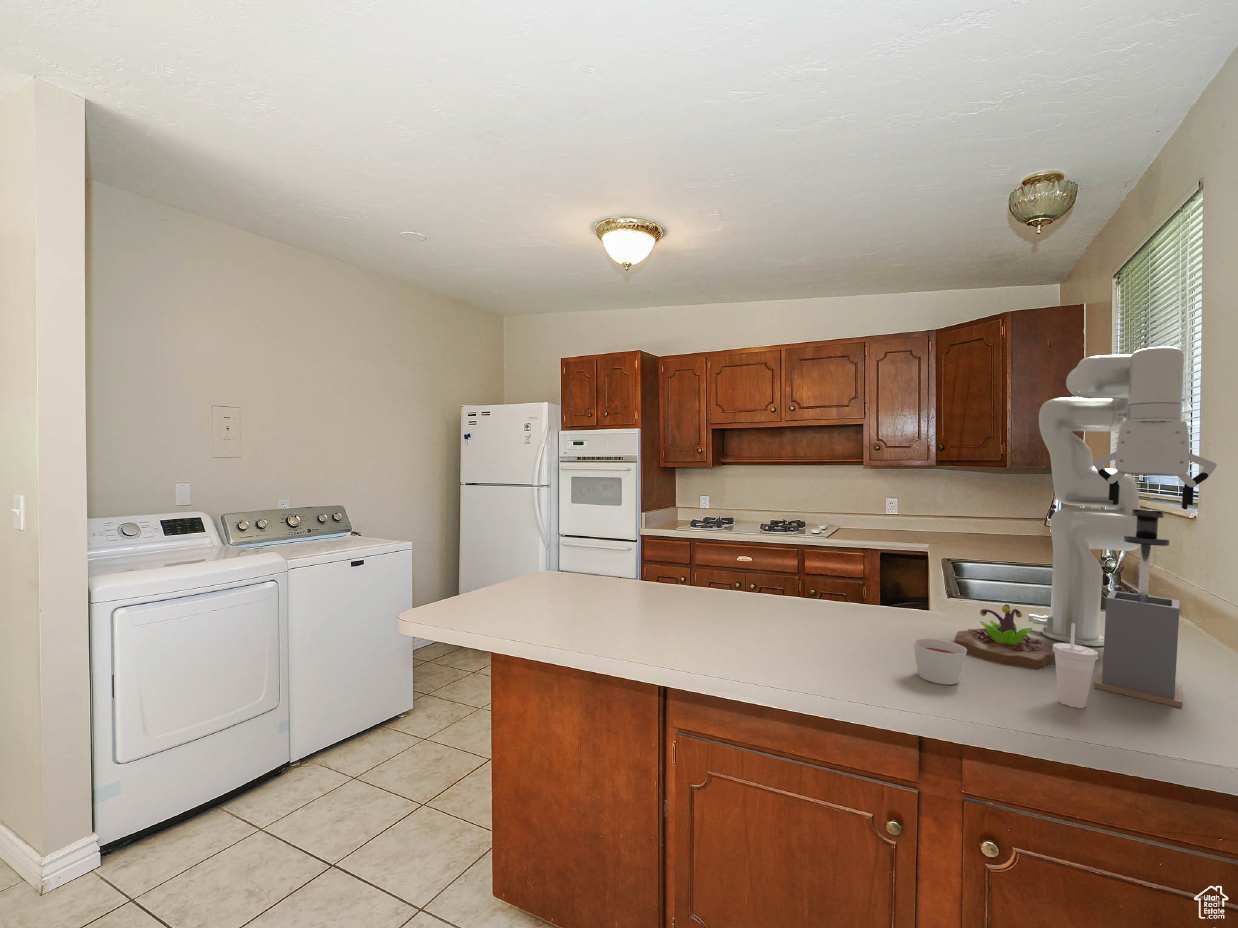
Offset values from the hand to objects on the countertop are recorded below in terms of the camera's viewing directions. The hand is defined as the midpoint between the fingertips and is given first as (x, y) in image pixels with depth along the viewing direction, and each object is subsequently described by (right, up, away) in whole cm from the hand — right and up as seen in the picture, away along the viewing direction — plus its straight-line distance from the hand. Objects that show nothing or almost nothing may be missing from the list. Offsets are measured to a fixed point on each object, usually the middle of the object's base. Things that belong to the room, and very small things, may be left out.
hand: (1149, 506), depth 112 cm
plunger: (-1, -25, +1) cm, 25 cm away
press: (-1, -34, +1) cm, 34 cm away
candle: (-38, -33, +2) cm, 50 cm away
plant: (-14, -34, +21) cm, 42 cm away
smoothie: (-20, -34, -8) cm, 40 cm away
